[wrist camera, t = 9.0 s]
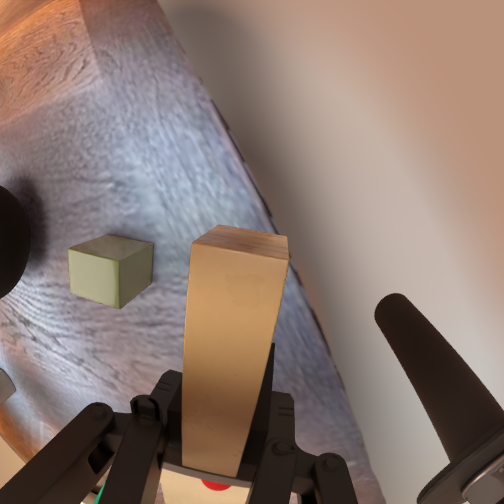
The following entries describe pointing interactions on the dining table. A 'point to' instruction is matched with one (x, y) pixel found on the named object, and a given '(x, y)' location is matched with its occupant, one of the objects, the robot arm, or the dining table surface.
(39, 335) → the dining table surface
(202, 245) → the fork
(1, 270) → the decorative ball
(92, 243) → the knife rest
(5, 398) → the grey cylinder
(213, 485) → the strawberry
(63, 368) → the dining table surface
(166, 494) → the linen napkin
